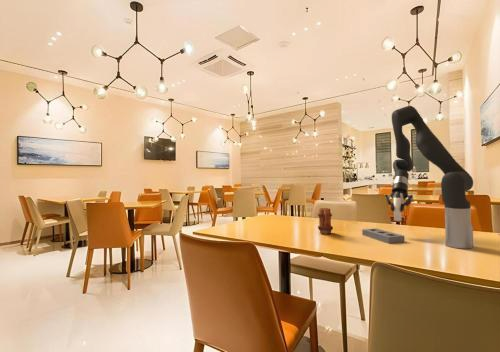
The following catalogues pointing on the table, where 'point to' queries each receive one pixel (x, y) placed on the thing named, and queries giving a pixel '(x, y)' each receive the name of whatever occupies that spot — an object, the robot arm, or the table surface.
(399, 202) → the plug
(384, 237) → the gray slotted tray
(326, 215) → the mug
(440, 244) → the table surface
